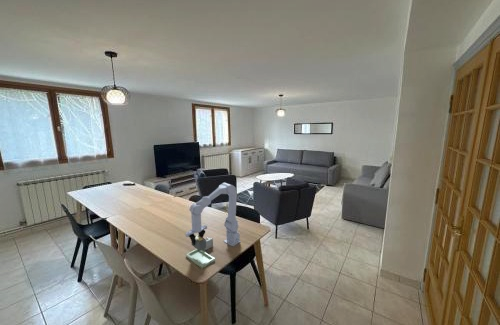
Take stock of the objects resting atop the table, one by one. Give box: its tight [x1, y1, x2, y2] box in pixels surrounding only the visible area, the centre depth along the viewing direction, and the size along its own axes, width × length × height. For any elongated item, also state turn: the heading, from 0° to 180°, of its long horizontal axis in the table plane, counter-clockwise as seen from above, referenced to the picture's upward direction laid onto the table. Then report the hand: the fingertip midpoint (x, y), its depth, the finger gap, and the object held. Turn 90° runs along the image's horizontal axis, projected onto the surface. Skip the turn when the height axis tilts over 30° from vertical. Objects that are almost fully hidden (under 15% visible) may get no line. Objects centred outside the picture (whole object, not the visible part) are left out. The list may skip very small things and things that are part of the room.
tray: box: [185, 248, 216, 269], centre depth 125 cm, size 17×10×2 cm, turn 49°
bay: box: [203, 236, 214, 252], centre depth 138 cm, size 6×8×6 cm
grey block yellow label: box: [191, 233, 206, 251], centre depth 126 cm, size 9×5×6 cm, turn 48°
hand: (197, 242), depth 127 cm, fingers closed on grey block yellow label, 5 cm apart
